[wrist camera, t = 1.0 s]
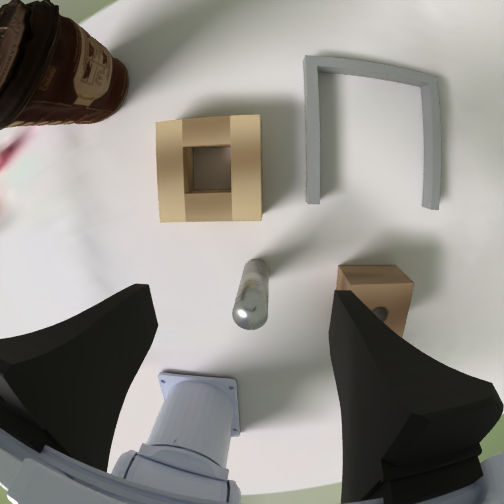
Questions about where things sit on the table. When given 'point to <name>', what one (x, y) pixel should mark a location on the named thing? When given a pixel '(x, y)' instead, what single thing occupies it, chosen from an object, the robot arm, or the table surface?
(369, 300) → the walnut block
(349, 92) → the table surface
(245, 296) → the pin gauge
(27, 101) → the coffee cup
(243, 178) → the oak block
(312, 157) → the grey arch piece
